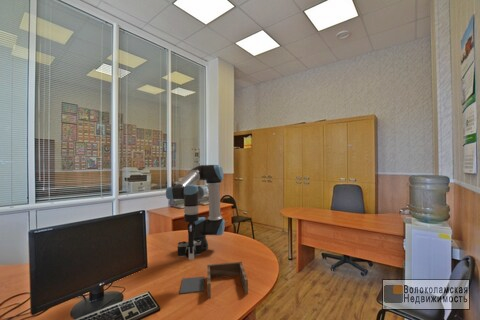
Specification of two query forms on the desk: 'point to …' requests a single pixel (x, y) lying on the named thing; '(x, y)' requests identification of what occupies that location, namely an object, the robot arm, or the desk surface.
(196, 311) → the desk surface
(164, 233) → the desk surface
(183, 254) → the camera
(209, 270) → the cubby
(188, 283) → the mat
